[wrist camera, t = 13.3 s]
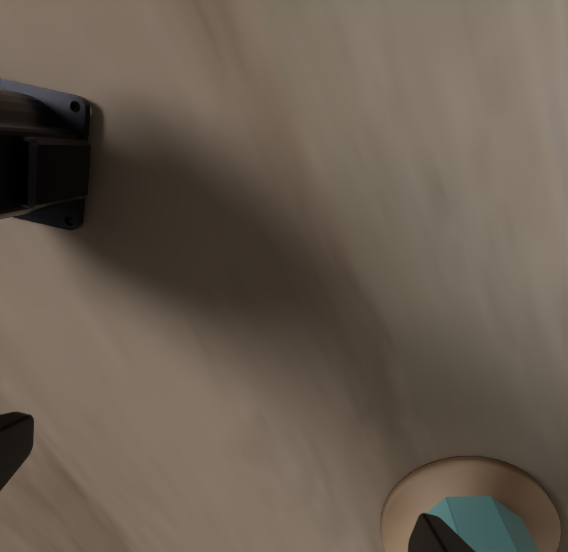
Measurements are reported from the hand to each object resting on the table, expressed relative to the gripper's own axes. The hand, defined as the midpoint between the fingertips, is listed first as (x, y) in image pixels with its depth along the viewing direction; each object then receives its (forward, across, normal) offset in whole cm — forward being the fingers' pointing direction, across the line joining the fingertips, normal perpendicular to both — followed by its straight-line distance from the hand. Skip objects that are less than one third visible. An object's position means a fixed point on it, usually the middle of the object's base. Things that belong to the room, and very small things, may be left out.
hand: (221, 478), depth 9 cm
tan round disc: (+13, +14, -12) cm, 23 cm away
